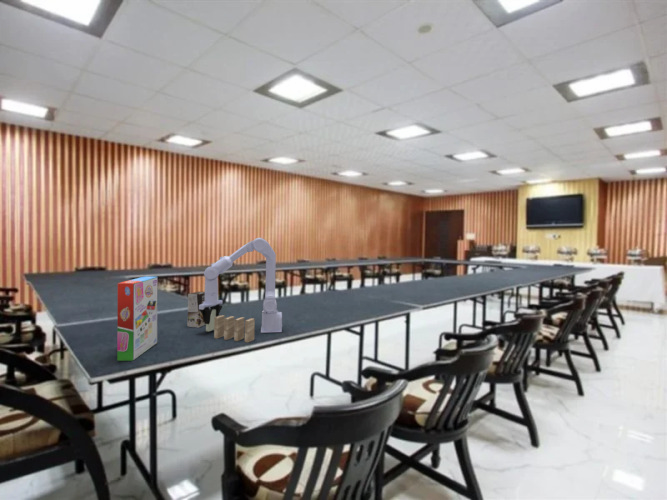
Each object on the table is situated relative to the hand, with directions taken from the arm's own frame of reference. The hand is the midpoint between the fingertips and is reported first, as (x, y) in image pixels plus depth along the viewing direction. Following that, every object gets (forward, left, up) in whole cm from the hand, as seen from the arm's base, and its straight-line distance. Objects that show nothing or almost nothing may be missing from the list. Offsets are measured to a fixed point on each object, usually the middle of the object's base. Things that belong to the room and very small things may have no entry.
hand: (210, 322), depth 163 cm
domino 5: (-18, +16, -4) cm, 25 cm away
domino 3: (-9, +11, -4) cm, 15 cm away
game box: (+23, +26, -5) cm, 35 cm away
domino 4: (-13, +14, -4) cm, 20 cm away
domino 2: (-5, +9, -4) cm, 11 cm away
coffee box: (+8, -14, -5) cm, 17 cm away
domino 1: (0, 0, -3) cm, 3 cm away
